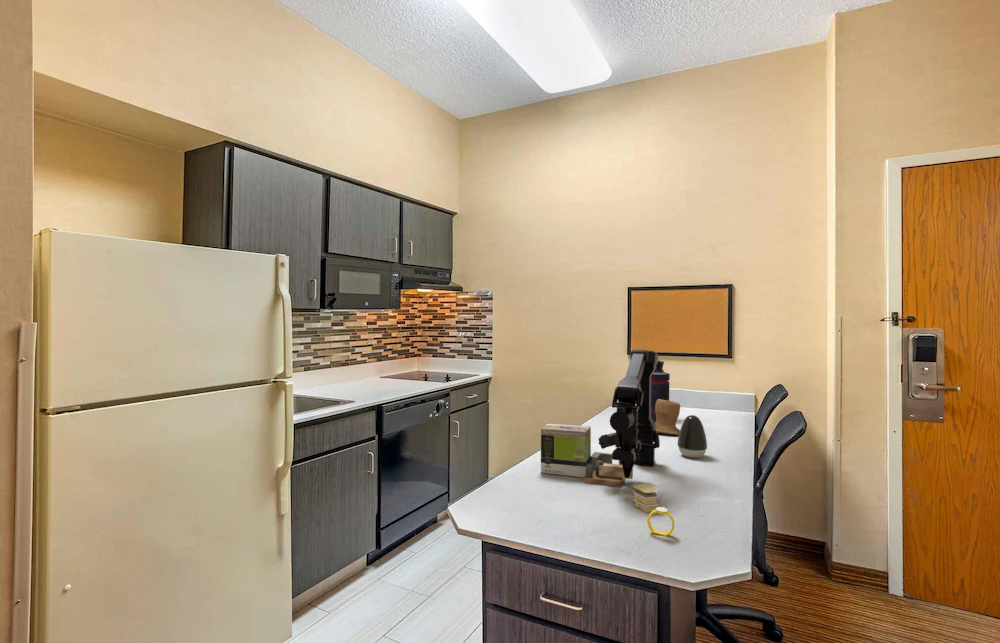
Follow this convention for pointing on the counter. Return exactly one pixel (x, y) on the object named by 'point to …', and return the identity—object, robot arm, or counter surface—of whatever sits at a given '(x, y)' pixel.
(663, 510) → the watch
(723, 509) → the counter surface
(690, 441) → the dark egg shaped device
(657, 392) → the dark blue tall bottle
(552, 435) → the tea box
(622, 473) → the oak leg
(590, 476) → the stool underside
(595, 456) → the corner bracket
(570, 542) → the counter surface
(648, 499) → the stacked layers on plate
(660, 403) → the tan boot
